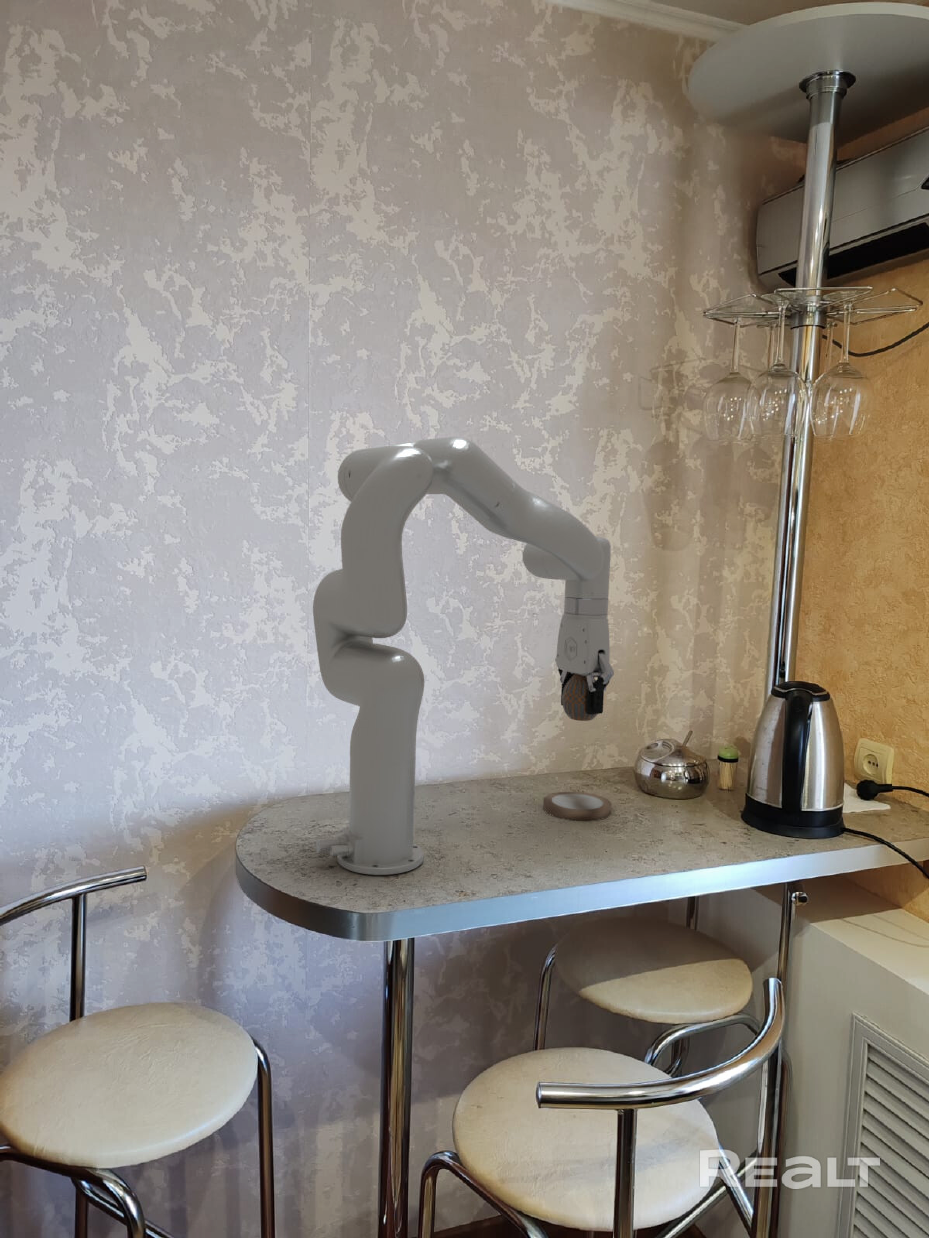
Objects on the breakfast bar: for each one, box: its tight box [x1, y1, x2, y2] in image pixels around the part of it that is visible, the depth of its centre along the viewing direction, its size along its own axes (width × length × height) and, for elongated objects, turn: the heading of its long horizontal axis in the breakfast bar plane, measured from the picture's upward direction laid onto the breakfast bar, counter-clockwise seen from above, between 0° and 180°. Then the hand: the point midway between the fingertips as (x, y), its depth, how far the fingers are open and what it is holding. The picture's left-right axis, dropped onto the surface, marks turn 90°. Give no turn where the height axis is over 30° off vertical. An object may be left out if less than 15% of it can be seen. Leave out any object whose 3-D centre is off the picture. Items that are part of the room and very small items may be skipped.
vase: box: [562, 674, 598, 722], centre depth 155 cm, size 7×7×9 cm
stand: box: [542, 791, 613, 822], centre depth 157 cm, size 12×12×2 cm
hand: (581, 708), depth 156 cm, fingers closed on vase, 6 cm apart
